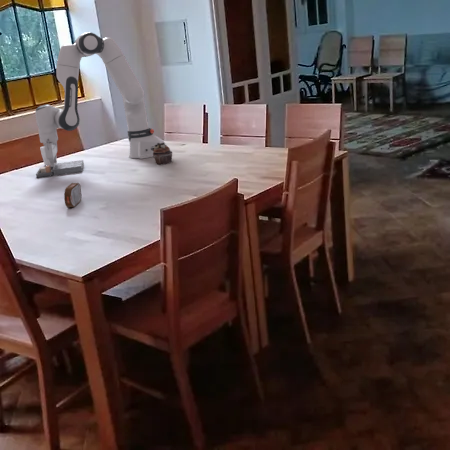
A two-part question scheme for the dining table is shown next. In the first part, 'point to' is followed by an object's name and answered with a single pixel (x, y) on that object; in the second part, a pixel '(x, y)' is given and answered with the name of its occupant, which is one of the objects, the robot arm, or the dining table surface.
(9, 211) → the dining table surface
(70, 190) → the tin
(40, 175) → the box
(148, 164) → the dining table surface
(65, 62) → the robot arm
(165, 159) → the cupcake
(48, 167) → the tile terracotta
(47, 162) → the white cup
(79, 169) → the far plate
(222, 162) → the dining table surface
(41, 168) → the tile cream
